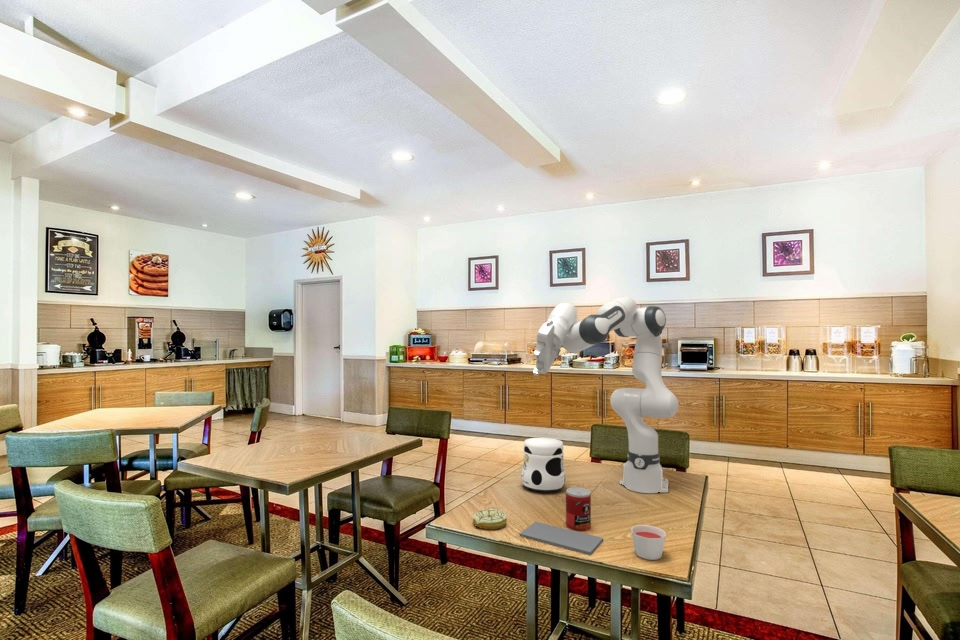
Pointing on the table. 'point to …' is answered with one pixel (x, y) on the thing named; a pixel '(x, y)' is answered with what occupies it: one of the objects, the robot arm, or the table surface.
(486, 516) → the decorated donut
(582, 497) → the canned food
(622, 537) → the table surface
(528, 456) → the milk container
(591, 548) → the mat
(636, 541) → the candle
